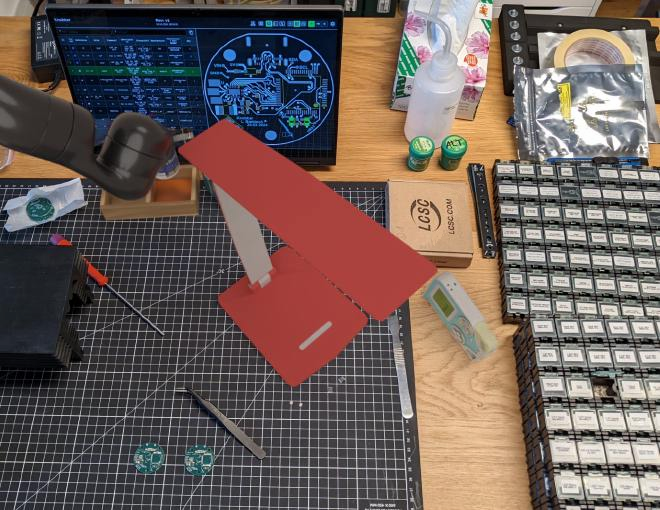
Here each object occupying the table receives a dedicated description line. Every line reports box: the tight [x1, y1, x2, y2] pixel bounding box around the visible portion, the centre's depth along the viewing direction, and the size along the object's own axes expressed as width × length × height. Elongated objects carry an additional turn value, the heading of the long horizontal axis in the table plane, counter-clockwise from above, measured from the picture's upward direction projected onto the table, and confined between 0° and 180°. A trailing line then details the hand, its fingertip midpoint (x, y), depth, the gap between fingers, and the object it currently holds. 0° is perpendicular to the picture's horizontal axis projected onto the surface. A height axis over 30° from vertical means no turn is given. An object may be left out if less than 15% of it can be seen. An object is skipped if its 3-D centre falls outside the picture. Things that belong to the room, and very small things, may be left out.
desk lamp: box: [177, 118, 439, 388], centre depth 89 cm, size 18×38×40 cm, turn 43°
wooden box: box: [99, 164, 201, 221], centre depth 118 cm, size 9×17×4 cm, turn 94°
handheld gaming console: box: [420, 270, 499, 364], centre depth 103 cm, size 11×3×15 cm
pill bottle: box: [155, 147, 181, 179], centre depth 107 cm, size 5×5×10 cm
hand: (156, 139), depth 107 cm, fingers closed on pill bottle, 5 cm apart
